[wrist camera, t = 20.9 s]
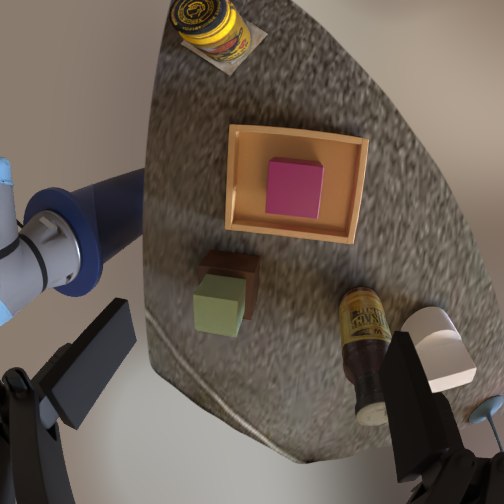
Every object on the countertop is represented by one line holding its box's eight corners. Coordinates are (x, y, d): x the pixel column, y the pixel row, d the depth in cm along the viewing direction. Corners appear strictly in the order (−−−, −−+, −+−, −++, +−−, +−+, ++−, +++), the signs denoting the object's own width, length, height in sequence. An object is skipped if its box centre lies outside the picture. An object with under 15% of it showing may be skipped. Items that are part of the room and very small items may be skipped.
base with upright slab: (397, 354, 43) (413, 409, 32) (401, 311, 39) (424, 366, 28) (443, 344, 40) (466, 394, 30) (451, 301, 37) (483, 350, 26)
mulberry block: (270, 201, 36) (264, 213, 31) (273, 156, 33) (268, 160, 28) (315, 206, 35) (317, 219, 30) (320, 161, 33) (323, 166, 28)
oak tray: (230, 222, 38) (224, 229, 36) (234, 124, 33) (229, 124, 31) (349, 236, 36) (353, 244, 34) (363, 138, 31) (369, 139, 29)
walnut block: (210, 293, 43) (199, 311, 39) (209, 249, 40) (198, 265, 36) (256, 300, 42) (251, 320, 38) (260, 255, 39) (254, 272, 35)
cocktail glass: (480, 431, 50) (499, 499, 27) (443, 429, 50) (461, 511, 27) (523, 387, 42) (555, 457, 19) (492, 381, 42) (528, 467, 20)
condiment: (230, 76, 31) (197, 53, 20) (181, 44, 30) (134, 17, 19) (268, 34, 28) (253, -6, 17) (216, 4, 27) (183, -37, 16)
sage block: (206, 307, 38) (194, 329, 34) (206, 273, 36) (192, 294, 31) (244, 312, 37) (236, 337, 33) (246, 279, 35) (237, 301, 31)
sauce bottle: (385, 288, 38) (426, 396, 20) (370, 323, 41) (395, 433, 23) (342, 279, 39) (363, 392, 21) (330, 316, 41) (337, 430, 23)
